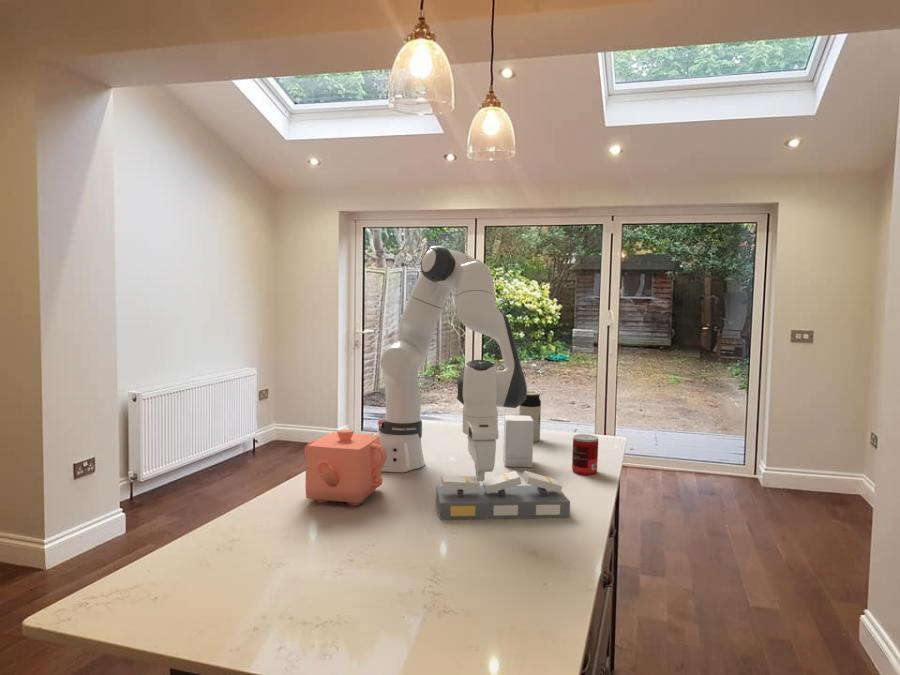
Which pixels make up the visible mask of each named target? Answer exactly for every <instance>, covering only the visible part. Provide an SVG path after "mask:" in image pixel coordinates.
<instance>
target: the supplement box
mask: <svg viewBox="0 0 900 675" xmlns="http://www.w3.org/2000/svg"><path fill="white" fill-rule="evenodd" d="M503 420H504V421H503V442H502V444H503V446H502V447H503V449H502V450H503V452H502V460H503V465H504V467H510V468H511V467H512V468H513V467H514V468H515V467H516V468H533V452H534V450H533V449H534V442H533V429H534V421H533V419H532V418H531V416H519V415H512V414H511V415H510V414H509V415H508V414H505V415H504V416H503Z"/></svg>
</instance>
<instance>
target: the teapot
mask: <svg viewBox="0 0 900 675" xmlns="http://www.w3.org/2000/svg"><path fill="white" fill-rule="evenodd" d="M304 457H305V458H306V463H305V496H306V499H308V500H309V499H310V500H316V502H317V503H321V502H322V503H323V502H324V503H329V502H330V501H331V502H341V503H342V502H343V503H344V502H345V503H347V505H349V506H359V505H362V502H363V501H364V500H365V499H367V498H368V497H369V496H370V495H371V494H372V493H374V492H375V490H376V489H377V488H379V487H381V486H382V484H383V480H384V479H383V476H382V471H381V468H382V467H383V465H384V463H385V461H386V457H387V455H386V451H385V450H384V448H383V447H382V446H381V443H380V436H379V435H375V434H367V433H356V432H355V433H354V430H352V429H347V428H346V429H339V430H337V431H332V432H330V433H328V434H325V435H323V436H322V437H320V438H319V439H318V438H316V439H313V440H311V441H310V442H308V443H307V444H306V445H305V447H304Z"/></svg>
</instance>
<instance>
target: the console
mask: <svg viewBox="0 0 900 675" xmlns="http://www.w3.org/2000/svg"><path fill="white" fill-rule="evenodd" d="M435 502H436V507H437V512H438V515H439V520H472V519H473V520H474V519H475V520H476V519H477V520H478V519H482V518H483V519H482V520H484V519H485V518H486V519H534V518H535V519H540V518H541V519H543V518H548V519H549V518H550V519H551V518H570V515H571V512H570V511H571V501H570V500H569V499H568V497H567V496H566V494H564V492H563V491H562V490H561V493H559V492H555V491H551V490H548V489H544V488H541V487H537V486H533V485H530V484H527V485H523V484H519V485H516V486H512V487H509V488H505V489H502V490H499V491H495V492H492V493H488V494H487V493H486V491H485V489H484V486H483V485H480V487H479V490H462V489H443V486H442V485H441V486H436V488H435Z"/></svg>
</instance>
